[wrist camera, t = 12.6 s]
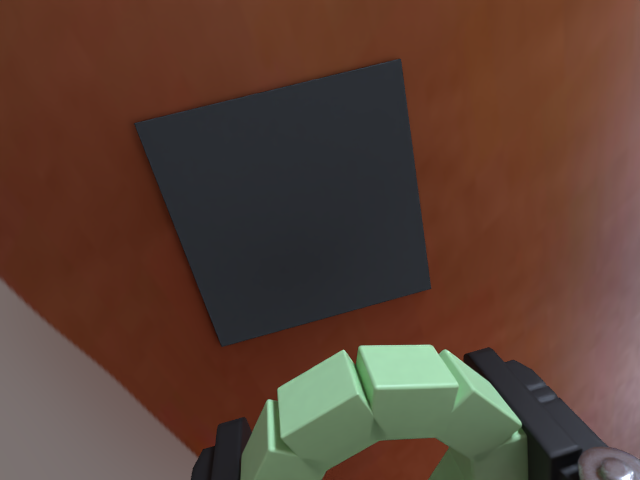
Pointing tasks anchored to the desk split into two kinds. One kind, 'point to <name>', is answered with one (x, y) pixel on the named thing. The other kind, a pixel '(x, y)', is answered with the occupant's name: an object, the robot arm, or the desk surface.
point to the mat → (295, 200)
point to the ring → (387, 417)
